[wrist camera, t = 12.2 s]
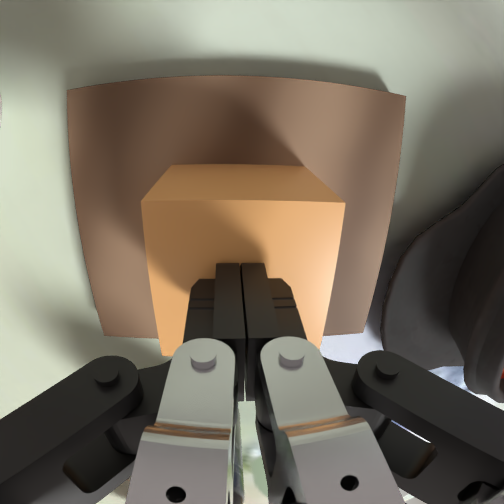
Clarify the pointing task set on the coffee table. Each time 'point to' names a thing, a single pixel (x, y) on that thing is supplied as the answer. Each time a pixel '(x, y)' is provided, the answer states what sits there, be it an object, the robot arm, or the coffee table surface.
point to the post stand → (228, 152)
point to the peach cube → (240, 236)
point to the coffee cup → (0, 110)
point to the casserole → (454, 293)
